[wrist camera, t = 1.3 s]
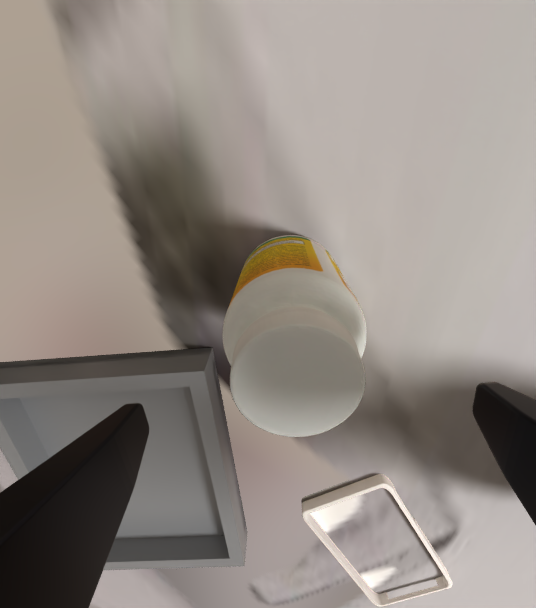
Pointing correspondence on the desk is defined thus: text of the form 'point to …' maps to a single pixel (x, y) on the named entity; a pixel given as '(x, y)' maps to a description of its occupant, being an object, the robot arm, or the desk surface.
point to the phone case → (338, 508)
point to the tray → (157, 455)
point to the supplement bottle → (294, 339)
